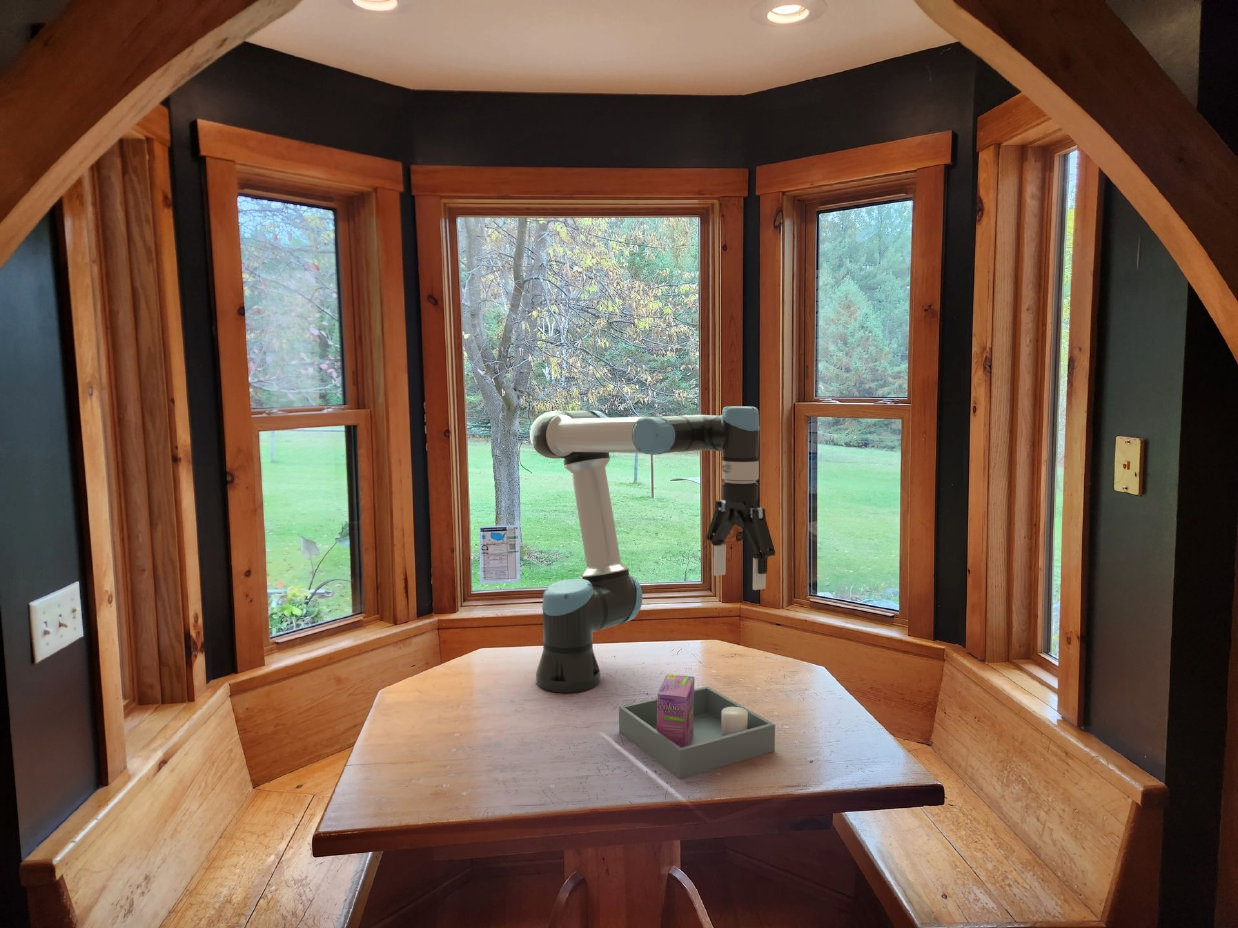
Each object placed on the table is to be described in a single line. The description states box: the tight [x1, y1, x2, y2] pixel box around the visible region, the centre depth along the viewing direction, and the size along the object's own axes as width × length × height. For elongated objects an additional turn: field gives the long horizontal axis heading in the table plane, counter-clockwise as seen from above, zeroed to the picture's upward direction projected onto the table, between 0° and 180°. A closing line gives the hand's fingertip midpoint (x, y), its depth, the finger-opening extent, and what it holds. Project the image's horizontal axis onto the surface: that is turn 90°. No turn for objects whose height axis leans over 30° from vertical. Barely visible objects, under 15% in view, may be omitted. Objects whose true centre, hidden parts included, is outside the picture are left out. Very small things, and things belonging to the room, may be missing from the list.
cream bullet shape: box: [721, 707, 748, 737], centre depth 151 cm, size 5×5×6 cm
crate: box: [618, 686, 776, 780], centre depth 151 cm, size 22×22×6 cm
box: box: [656, 673, 695, 748], centre depth 150 cm, size 10×6×12 cm, turn 166°
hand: (738, 581), depth 163 cm, fingers open, 13 cm apart
